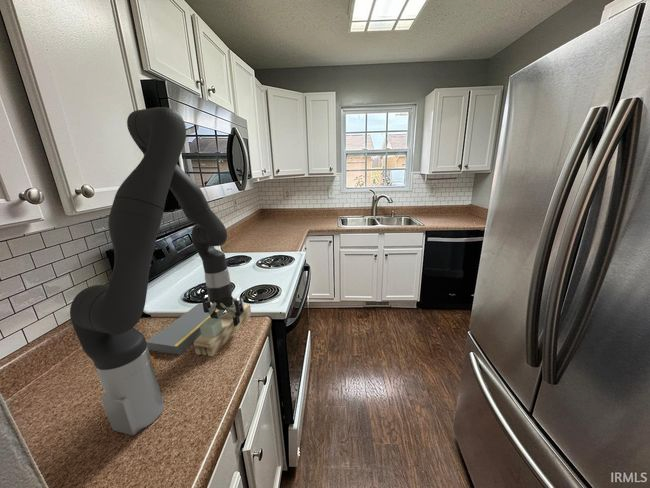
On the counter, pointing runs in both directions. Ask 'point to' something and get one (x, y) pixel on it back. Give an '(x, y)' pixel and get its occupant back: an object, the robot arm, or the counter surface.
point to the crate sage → (211, 327)
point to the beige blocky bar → (220, 334)
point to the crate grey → (242, 304)
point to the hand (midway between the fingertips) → (226, 323)
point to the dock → (181, 331)
